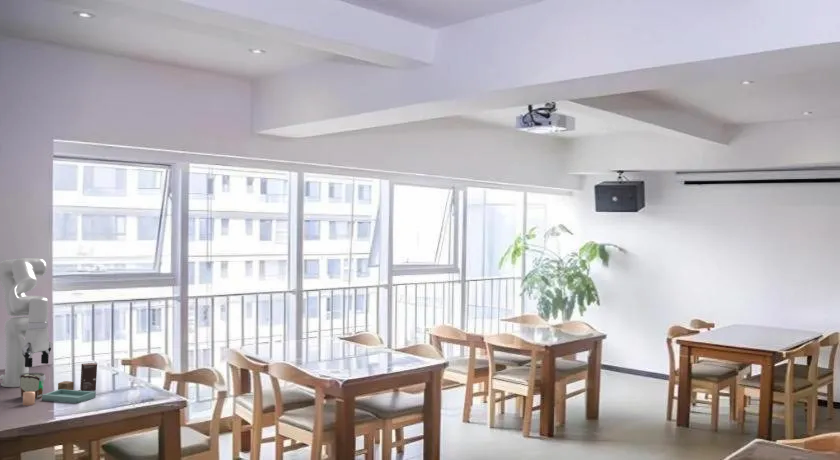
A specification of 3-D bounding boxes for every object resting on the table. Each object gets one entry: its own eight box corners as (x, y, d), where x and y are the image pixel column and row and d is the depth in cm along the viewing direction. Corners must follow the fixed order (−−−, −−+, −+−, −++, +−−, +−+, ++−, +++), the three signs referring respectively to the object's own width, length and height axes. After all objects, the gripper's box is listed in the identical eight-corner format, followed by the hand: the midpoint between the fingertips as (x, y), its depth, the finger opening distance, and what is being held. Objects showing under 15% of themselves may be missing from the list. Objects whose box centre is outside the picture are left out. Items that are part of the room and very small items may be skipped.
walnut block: (57, 393, 308) (58, 383, 309) (64, 390, 313) (64, 381, 313) (66, 393, 308) (67, 383, 308) (73, 391, 312) (73, 381, 312)
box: (82, 391, 312) (83, 365, 312) (79, 389, 316) (81, 363, 316) (96, 390, 316) (97, 364, 316) (94, 388, 319) (95, 362, 320)
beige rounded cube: (20, 405, 285) (20, 393, 285) (28, 402, 290) (28, 390, 290) (29, 405, 285) (29, 393, 285) (37, 403, 289) (37, 391, 289)
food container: (51, 396, 301) (52, 373, 301) (39, 399, 295) (40, 376, 295) (30, 393, 305) (31, 371, 305) (18, 396, 299) (19, 373, 299)
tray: (41, 400, 294) (42, 394, 294) (60, 394, 306) (60, 389, 306) (78, 403, 291) (78, 397, 291) (95, 397, 302) (95, 391, 302)
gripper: (44, 323, 310) (43, 361, 309) (15, 327, 293) (14, 368, 292) (59, 324, 308) (58, 362, 308) (30, 328, 291) (29, 368, 291)
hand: (36, 365), depth 300 cm, fingers open, 9 cm apart
